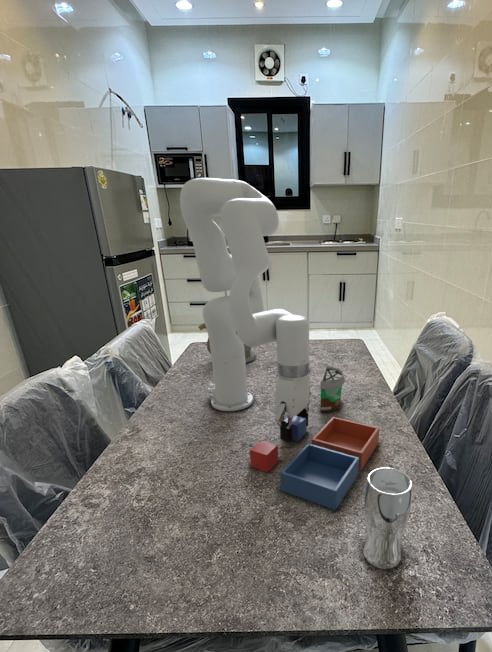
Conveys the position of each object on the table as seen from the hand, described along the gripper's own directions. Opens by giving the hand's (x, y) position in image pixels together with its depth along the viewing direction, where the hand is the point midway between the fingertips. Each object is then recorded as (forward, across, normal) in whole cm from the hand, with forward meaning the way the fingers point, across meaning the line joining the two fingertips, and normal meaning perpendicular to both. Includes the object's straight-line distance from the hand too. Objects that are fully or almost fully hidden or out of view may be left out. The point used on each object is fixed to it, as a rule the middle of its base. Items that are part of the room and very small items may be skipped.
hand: (294, 432), depth 98 cm
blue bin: (+1, +14, +14) cm, 20 cm away
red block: (+1, +14, 0) cm, 14 cm away
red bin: (+1, 0, +14) cm, 14 cm away
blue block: (+1, 0, 0) cm, 1 cm away
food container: (+1, -20, +2) cm, 20 cm away
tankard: (+1, -38, -51) cm, 64 cm away
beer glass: (+1, +26, +31) cm, 40 cm away
